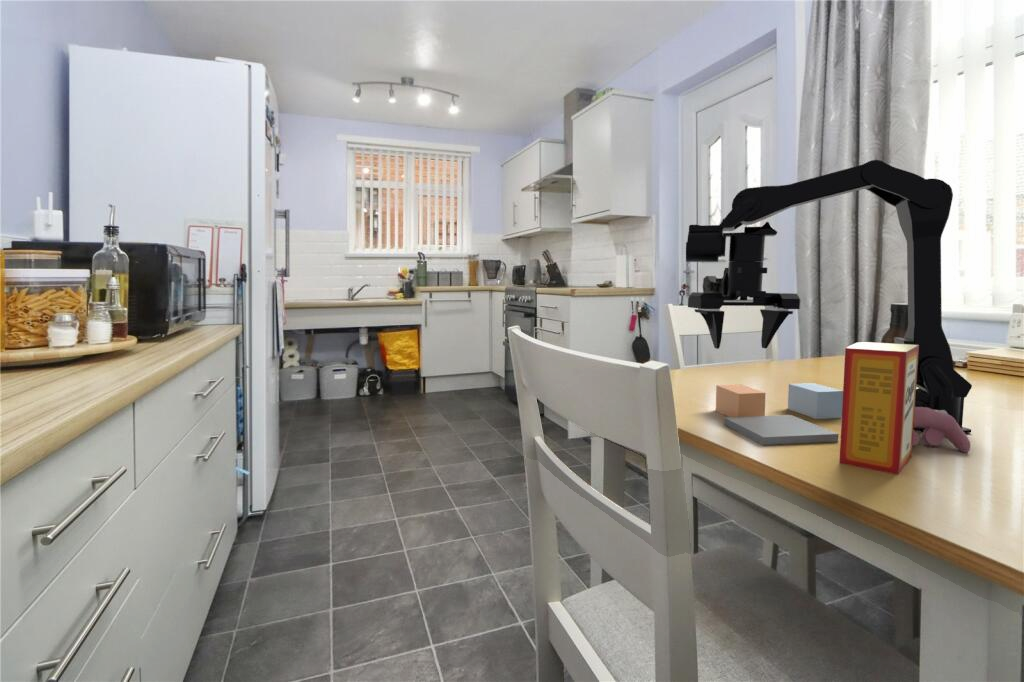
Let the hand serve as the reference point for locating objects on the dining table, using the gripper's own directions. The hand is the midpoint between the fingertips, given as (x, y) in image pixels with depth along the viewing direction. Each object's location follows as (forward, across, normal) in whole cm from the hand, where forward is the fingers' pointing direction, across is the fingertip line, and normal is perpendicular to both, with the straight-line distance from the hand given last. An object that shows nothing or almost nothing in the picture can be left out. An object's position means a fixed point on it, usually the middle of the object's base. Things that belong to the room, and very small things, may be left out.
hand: (740, 348), depth 97 cm
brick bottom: (+12, 0, 0) cm, 13 cm away
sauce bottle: (+12, -32, 0) cm, 34 cm away
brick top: (+12, -14, +2) cm, 19 cm away
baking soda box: (+12, -5, +26) cm, 30 cm away
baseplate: (+12, 0, +12) cm, 17 cm away
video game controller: (+12, -16, +23) cm, 30 cm away
